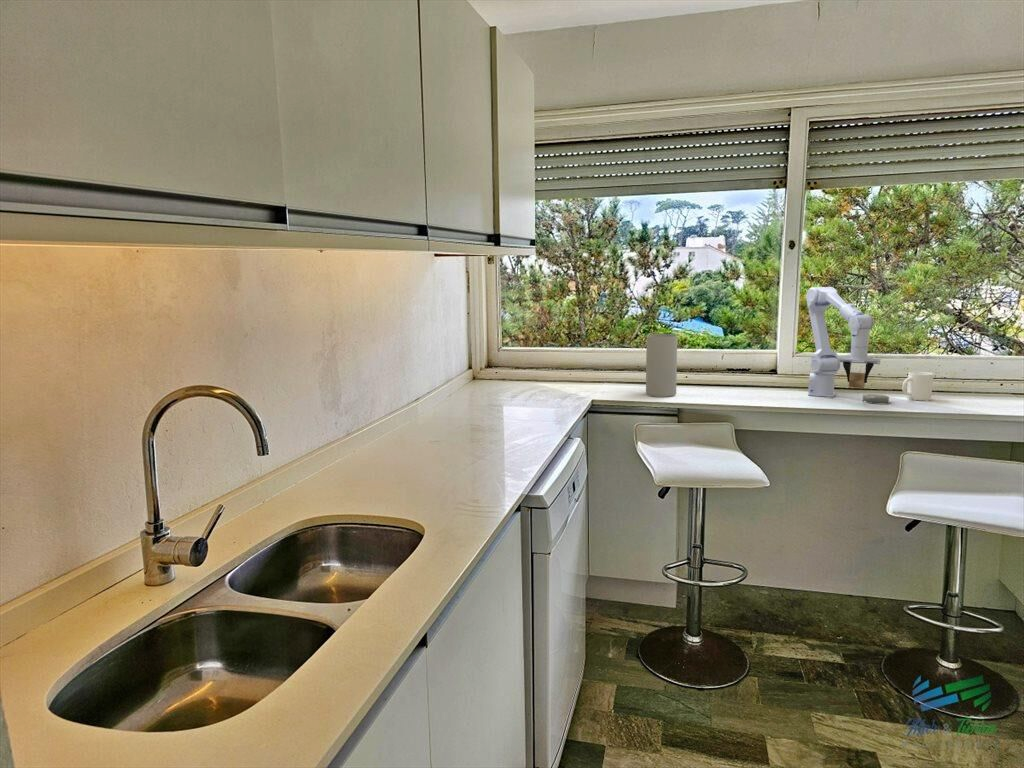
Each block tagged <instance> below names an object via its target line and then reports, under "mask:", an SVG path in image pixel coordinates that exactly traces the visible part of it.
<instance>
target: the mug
mask: <svg viewBox="0 0 1024 768" xmlns="http://www.w3.org/2000/svg"><path fill="white" fill-rule="evenodd" d="M933 381H934V373H932V372H928V371H909V372H908V375H907V378H905V379H904V380H903V382H902V386H901V390H902V393H903V394H904V395H905V396H906V398H907V399H908V398H909V399H908V400H910V399H913V400H912V401H916V400H928V401H930V400H932V391H933V384H934V383H933Z"/></svg>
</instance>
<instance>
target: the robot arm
mask: <svg viewBox="0 0 1024 768" xmlns="http://www.w3.org/2000/svg"><path fill="white" fill-rule="evenodd" d="M805 298H806V299H805V300H806V303H807V305H806V306H807V309H808V314H809V318H810V319H809V320H810V324H811V329H812V336H813V341H814V346H815V352H814V353H812V355H811V357H810V359H811V364H810V368H811V370H812V372H809V373H810V374H809V378H808V393H807V396H813V397H814V396H815V397H828V398H829V397H830V398H834V397H835V396H836V392H835V380H836V379H835V378H836V377H835V375H836V374H837V373H838V371H839V370H840V368H841V363H842V366H843V368H844V371H845V374H846V379H847V382H848V383H849V376H850V373H851V369H852V368H851V367H852V364H863V365H864V364H865V372H864V373H865V379H864V383H865V384H867V380H868V378H869V374H870V372H871V371H872V369H873V367H874V366H875V365H881V358H873V357H872V358H871V357H868V353H869V352H868V351H869V350H868V349H869V339H870V338H869V337H870V336H869V335H870V330H871V329H872V328H873V326H874V324H875V323H874V317H872V315H871V314H870V313H863V312H862V311H861V310H860V309H858V308H857V307H856V305H855V304H854V303H847V302H846V301H845V300H844V299H843V298H842V297H841V296H840V295H839V294H838V290H837V289H836V288H834V287H833V286H823V287H822V286H821V287H818V286H816V287H814V286H812V287H810V288H809V289H808V290H807V292H806V295H805ZM831 305H832V306H833V307H834V308H836V309H837V310H839V315H840V316H841V317H842V318H843V319H844V320H846V322H847V323H848V327H849V328H850V332H849V333H850V334H851V342H850V345H851V346H850V355H849V356H838V354H837V353H838V352H835V351H834V349H831V344H830V343H831V342H830V338H829V333H828V329H827V324H826V318H825V317H826V316H825V313H824V312H825V311H826V309H828V308H829V307H830V306H831Z"/></svg>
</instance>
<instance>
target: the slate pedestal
mask: <svg viewBox="0 0 1024 768" xmlns="http://www.w3.org/2000/svg"><path fill="white" fill-rule="evenodd" d="M863 401H866V402H872V403H871V404H873V403H887V404H889V403H890V397H889V396H888V395H884V394H875V393H874V394H871V393H869V394H863V395H862V402H863ZM866 402H865V403H866ZM888 402H889V403H888Z"/></svg>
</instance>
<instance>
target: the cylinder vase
mask: <svg viewBox="0 0 1024 768" xmlns="http://www.w3.org/2000/svg"><path fill="white" fill-rule="evenodd" d="M645 347H646V352H645V353H646V355H645V356H646V357H645V358H646V360H645V362H646V363H645V376H646V377H645V393H646V395H647V396H649V397H656V398H670V397H675V395H677V378H678V377H677V376H678V375H677V374H678V373H677V372H678V371H677V370H678V334H670V333H653V334H647V335H646V346H645Z"/></svg>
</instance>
